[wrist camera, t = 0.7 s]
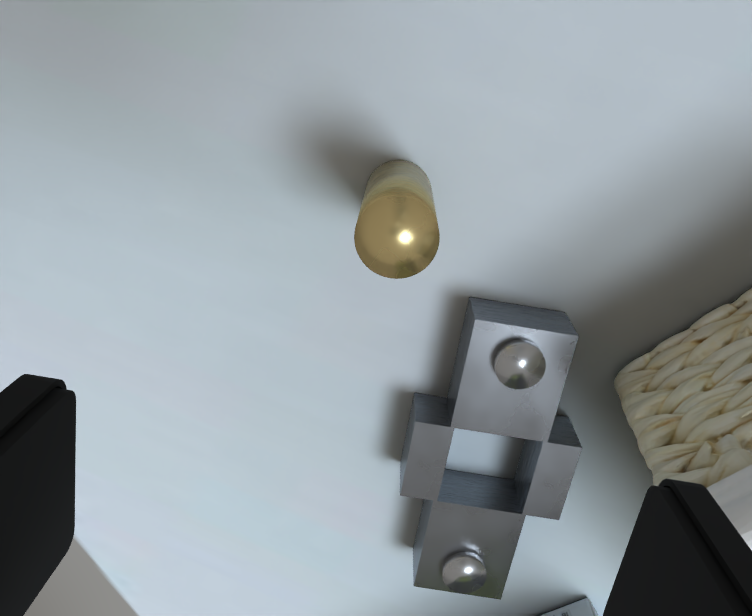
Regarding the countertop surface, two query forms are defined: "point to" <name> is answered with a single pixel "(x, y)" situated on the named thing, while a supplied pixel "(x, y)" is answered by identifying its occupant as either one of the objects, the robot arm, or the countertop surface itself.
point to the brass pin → (397, 221)
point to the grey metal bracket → (496, 416)
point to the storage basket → (699, 408)
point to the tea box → (575, 609)
